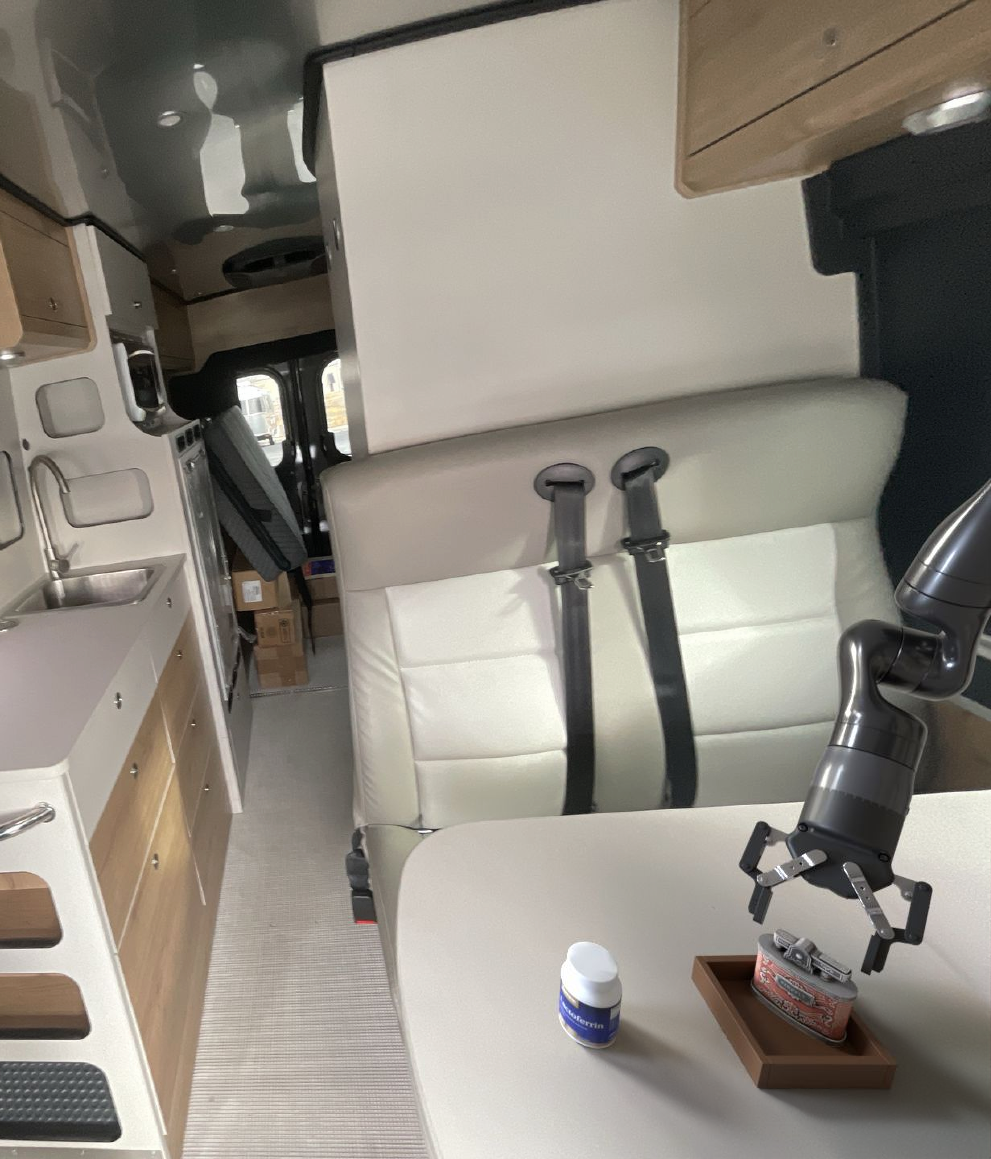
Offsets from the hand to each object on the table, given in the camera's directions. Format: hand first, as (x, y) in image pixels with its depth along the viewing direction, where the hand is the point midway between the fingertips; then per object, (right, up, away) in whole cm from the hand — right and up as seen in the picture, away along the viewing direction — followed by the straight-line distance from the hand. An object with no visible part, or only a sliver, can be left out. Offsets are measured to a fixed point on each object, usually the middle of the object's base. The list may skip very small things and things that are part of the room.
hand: (809, 947), depth 68 cm
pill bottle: (-20, -11, +5) cm, 24 cm away
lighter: (0, -8, +2) cm, 9 cm away
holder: (-2, -9, +1) cm, 10 cm away
